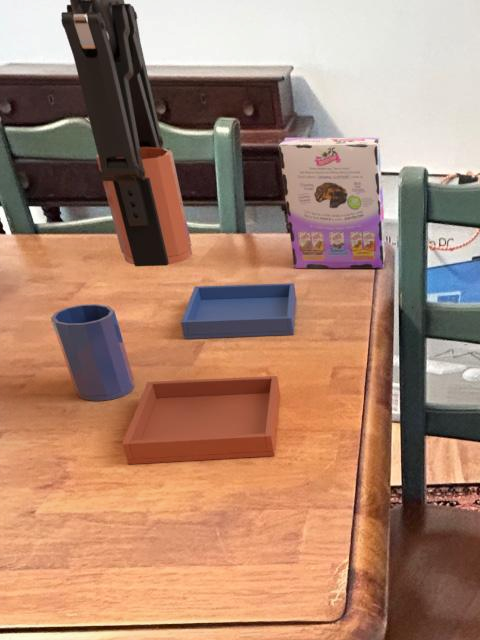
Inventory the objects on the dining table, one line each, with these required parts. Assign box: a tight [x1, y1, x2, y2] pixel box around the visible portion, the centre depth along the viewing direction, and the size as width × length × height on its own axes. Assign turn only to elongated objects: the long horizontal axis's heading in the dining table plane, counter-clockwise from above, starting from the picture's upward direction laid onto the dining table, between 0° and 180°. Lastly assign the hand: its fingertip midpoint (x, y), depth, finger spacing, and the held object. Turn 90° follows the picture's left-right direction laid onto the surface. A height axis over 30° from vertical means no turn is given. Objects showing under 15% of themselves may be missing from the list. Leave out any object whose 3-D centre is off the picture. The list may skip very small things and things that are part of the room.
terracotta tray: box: [121, 375, 281, 465], centre depth 72 cm, size 13×13×2 cm
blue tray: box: [180, 282, 297, 340], centre depth 95 cm, size 13×13×2 cm
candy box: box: [278, 137, 386, 269], centre depth 108 cm, size 14×6×16 cm, turn 90°
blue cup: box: [50, 303, 135, 402], centre depth 76 cm, size 6×6×8 cm
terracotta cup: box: [95, 147, 193, 265], centre depth 63 cm, size 6×6×8 cm
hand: (158, 253), depth 66 cm, fingers closed on terracotta cup, 6 cm apart
